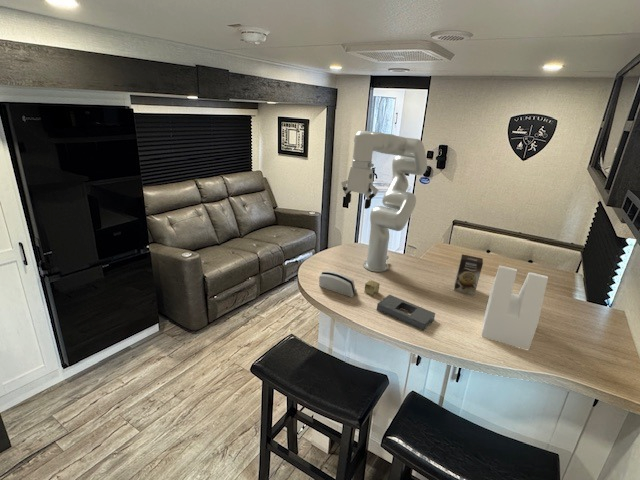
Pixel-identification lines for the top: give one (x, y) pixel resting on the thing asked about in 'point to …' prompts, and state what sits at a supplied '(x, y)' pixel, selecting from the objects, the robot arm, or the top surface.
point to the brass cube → (371, 287)
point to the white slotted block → (514, 308)
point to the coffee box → (468, 274)
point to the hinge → (337, 283)
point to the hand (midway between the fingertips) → (357, 205)
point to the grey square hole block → (417, 318)
